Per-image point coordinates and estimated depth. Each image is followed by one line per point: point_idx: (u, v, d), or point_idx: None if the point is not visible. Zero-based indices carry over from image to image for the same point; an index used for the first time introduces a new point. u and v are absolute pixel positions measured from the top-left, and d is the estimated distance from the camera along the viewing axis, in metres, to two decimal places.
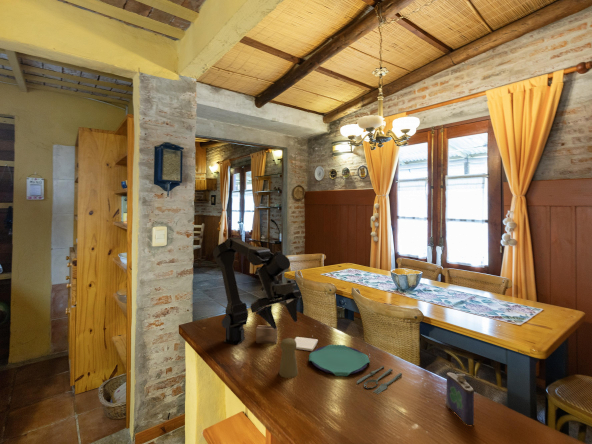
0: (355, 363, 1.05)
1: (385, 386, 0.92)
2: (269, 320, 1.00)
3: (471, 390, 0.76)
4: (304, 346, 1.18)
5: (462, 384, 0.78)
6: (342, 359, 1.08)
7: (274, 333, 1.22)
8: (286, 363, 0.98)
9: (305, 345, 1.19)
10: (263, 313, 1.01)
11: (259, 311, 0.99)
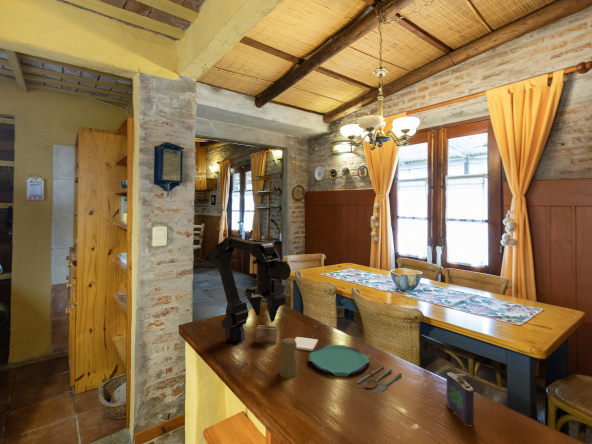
0: (355, 363, 1.05)
1: (385, 386, 0.92)
2: (273, 314, 1.10)
3: (471, 390, 0.76)
4: (304, 346, 1.18)
5: (462, 384, 0.78)
6: (342, 359, 1.08)
7: (274, 333, 1.22)
8: (286, 363, 0.98)
9: (305, 345, 1.19)
10: (272, 307, 1.09)
11: (277, 305, 1.08)
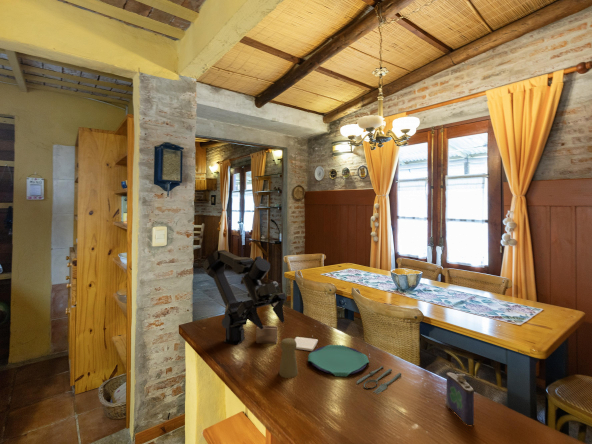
0: (354, 363, 1.05)
1: (385, 386, 0.92)
2: (256, 321, 1.04)
3: (471, 390, 0.76)
4: (304, 346, 1.18)
5: (462, 384, 0.78)
6: (341, 359, 1.08)
7: (274, 333, 1.22)
8: (286, 363, 0.98)
9: (305, 345, 1.19)
10: (250, 316, 1.06)
11: (245, 313, 1.04)
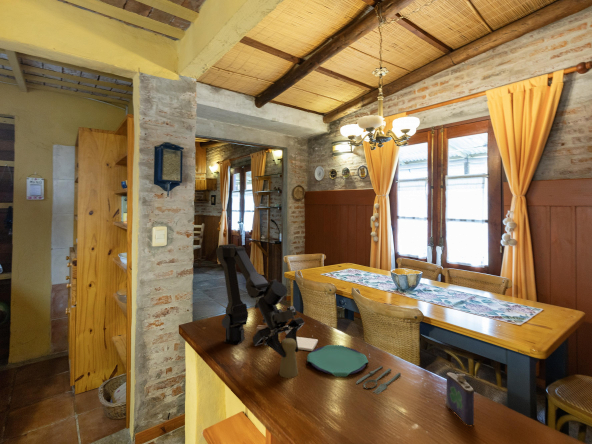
0: (354, 363, 1.05)
1: (385, 386, 0.92)
2: (278, 349, 0.98)
3: (471, 390, 0.76)
4: (304, 346, 1.18)
5: (462, 384, 0.78)
6: (341, 359, 1.08)
7: None
8: (286, 363, 0.98)
9: (305, 345, 1.19)
10: (271, 343, 1.00)
11: (266, 341, 0.99)
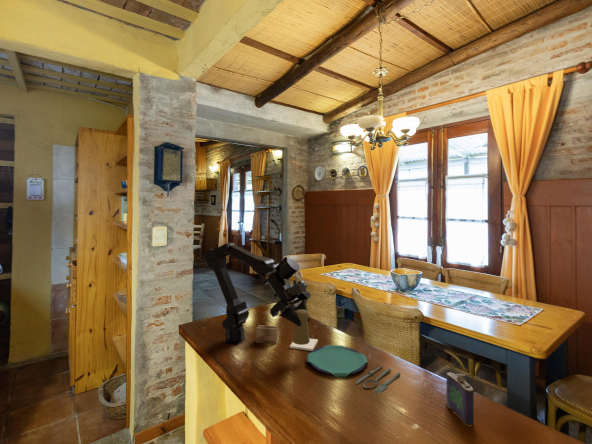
0: (353, 363, 1.05)
1: (384, 386, 0.92)
2: (293, 319, 1.07)
3: (471, 390, 0.76)
4: (304, 346, 1.18)
5: (462, 384, 0.78)
6: (340, 360, 1.08)
7: (274, 333, 1.22)
8: (301, 331, 1.07)
9: (305, 345, 1.19)
10: (286, 314, 1.08)
11: (283, 312, 1.06)
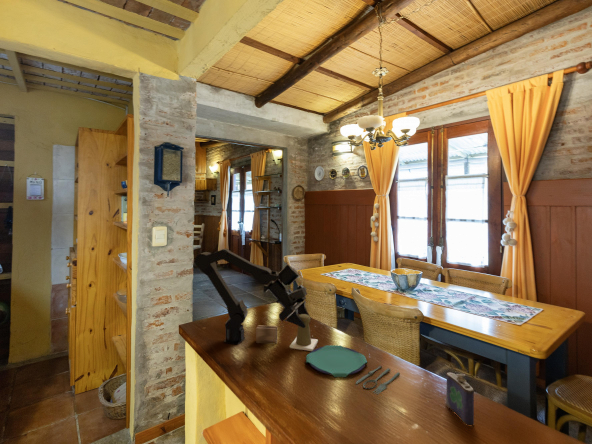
0: (353, 363, 1.05)
1: (384, 386, 0.92)
2: (298, 322, 1.17)
3: (471, 390, 0.76)
4: (304, 346, 1.18)
5: (462, 384, 0.78)
6: (339, 360, 1.07)
7: (274, 333, 1.22)
8: (305, 333, 1.19)
9: None
10: (291, 318, 1.17)
11: (289, 317, 1.15)
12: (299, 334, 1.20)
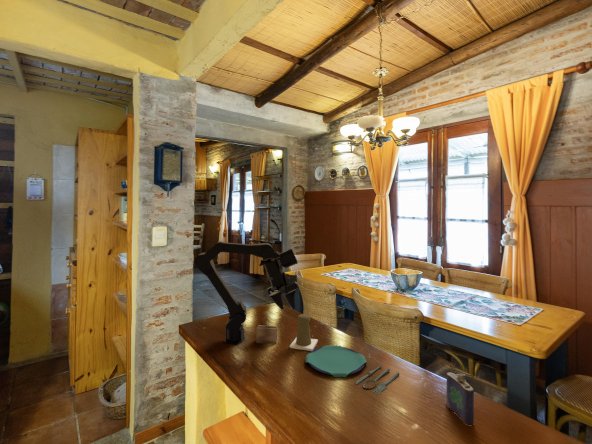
0: (352, 363, 1.05)
1: (384, 386, 0.92)
2: (292, 301, 1.21)
3: (471, 390, 0.76)
4: (304, 346, 1.18)
5: (462, 384, 0.78)
6: (339, 360, 1.07)
7: (274, 333, 1.22)
8: (305, 333, 1.19)
9: None
10: (288, 295, 1.20)
11: (291, 292, 1.19)
12: (299, 334, 1.20)
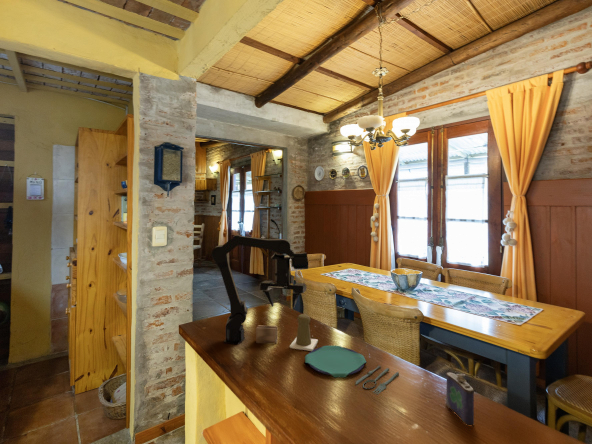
0: (352, 364, 1.05)
1: (384, 386, 0.92)
2: (296, 301, 1.25)
3: (471, 390, 0.76)
4: (304, 346, 1.18)
5: (462, 384, 0.78)
6: (338, 360, 1.07)
7: (274, 333, 1.22)
8: (305, 333, 1.19)
9: None
10: None
11: None
12: (299, 334, 1.20)
